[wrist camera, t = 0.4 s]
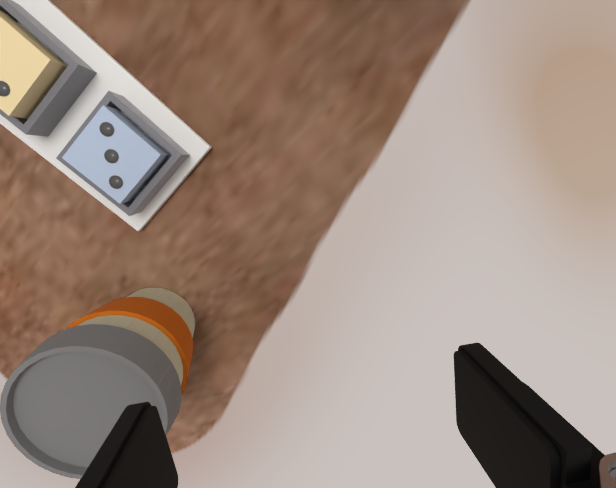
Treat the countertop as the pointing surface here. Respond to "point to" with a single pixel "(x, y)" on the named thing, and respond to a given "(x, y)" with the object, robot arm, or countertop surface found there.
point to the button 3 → (115, 155)
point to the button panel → (86, 103)
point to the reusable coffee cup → (99, 378)
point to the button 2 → (24, 69)
